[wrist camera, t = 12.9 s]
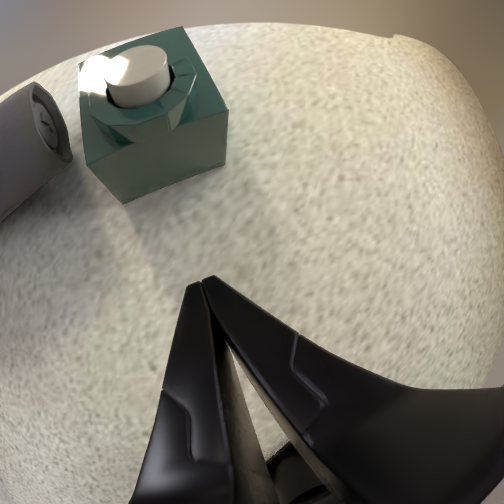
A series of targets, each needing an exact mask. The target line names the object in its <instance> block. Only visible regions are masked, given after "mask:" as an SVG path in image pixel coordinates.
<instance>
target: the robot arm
mask: <svg viewBox="0 0 504 504" xmlns="http://www.w3.org/2000/svg"><path fill="white" fill-rule="evenodd" d="M228 345H229V346H228ZM229 347H230V349H231V351H232V353H233V355H234V357H235V358H236V360H237V361H238V363H239V365H240V366H241V368H242V369H243V371H244V373H245V374H246V376H247V377H248V379H249V381H250V382H251V384H252V385H253V387H254V388H255V390H256V391H257V393H258V395H259V396H260V398H261V399H262V401H263V402H264V404H265V405H266V407H267V408H268V410H269V411H270V413H271V414H272V415H273V417H274V418H275V420H276V421H277V423H278V424H279V426H280V427H281V429H282V430H283V431H284V433H285V434H286V436H287V437H288V438H289V440H290V441H289V442H288V443H287V444H286V445H285V446H284V447H282V448H281V449H280V450H279V451H278V452H277V453H276V454H275V455H273V456H272V457H271V458H270V459H269V460H268V461H266V462H265V459H264V456H263V454H262V451H261V448H260V445H259V442H258V439H257V436H256V433H255V430H254V427H253V424H252V421H251V417H250V414H249V411H248V408H247V405H246V402H245V398H244V395H243V392H242V388H241V385H240V382H239V378H238V375H237V372H236V368H235V365H234V361H233V358H232V355H231V352H230V349H229ZM162 389H163V390H162V391H161V395H160V400H159V405H158V409H157V413H156V418H155V422H154V426H153V429H152V433H151V436H150V440H149V443H148V447H147V450H146V453H145V456H144V460H143V463H142V467H141V470H140V473H139V477H138V480H137V484H136V487H135V490H134V493H133V495H132V497H131V499H130V501H129V503H128V504H504V385H503V386H501V387H498V388H484V389H483V388H482V389H420V388H414V387H409V386H406V385H402V384H400V383H397V382H394V381H392V380H390V379H387V378H385V377H382V376H380V375H378V374H375V373H373V372H371V371H368V370H366V369H364V368H362V367H359V366H357V365H355V364H353V363H351V362H348V361H346V360H344V359H342V358H340V357H338V356H336V355H334V354H332V353H330V352H329V351H327V350H325V349H323V348H322V347H320V346H318V345H317V344H315V343H313V342H312V341H310V340H309V339H307V338H306V337H304V336H303V335H301V334H300V335H299V333H298V332H296V331H295V330H293V329H292V328H290V327H289V326H287V325H286V324H284V323H283V322H281V321H280V320H278V319H277V318H275V317H274V316H273V315H271V314H270V313H268V312H267V311H265V310H264V309H262V308H261V307H259V306H258V305H256V304H255V303H254V302H252V301H251V300H249V299H248V298H246V297H245V296H244V295H242V294H241V293H239V292H238V291H236V290H235V289H234V288H232V287H231V286H229V285H228V284H227V283H225V282H224V281H222V280H221V279H220V278H218V277H217V276H215V275H212V276H210V277H207V278H205V279H203V280H202V281H201V282H200V281H197V282H195V283H192V284H190V285H188V286H187V287H186V290H185V294H184V298H183V301H182V305H181V309H180V313H179V317H178V321H177V325H176V329H175V333H174V337H173V341H172V346H171V350H170V354H169V358H168V363H167V367H166V372H165V376H164V381H163V386H162Z"/></svg>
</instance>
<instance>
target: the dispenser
mask: <svg viewBox="0 0 504 504" xmlns="http://www.w3.org/2000/svg"><path fill="white" fill-rule="evenodd" d="M143 45H152V46H157V47H159V48H161V49H163V50H164V51H165V53H166V56H167V61H168V67H169V73H170V80H171V81H170V86H169V88H168V90H167V91H166V93H165V94H164V95H163V96H162V97H160V98H159V99H158V100H157V101H155V102H152V103H150V104H147V105H144V106H142V107H139V108H135V109H126V108H122V107H120V106H118V105H117V104H115V102H114V101H113V99H112V96H111V94H110V92H109V90H108V88H107V85H106V83H105V81H104V78H103V73H104V70H105V68H106V66H107V64H108V63H109V62H110V61H111V60H112V59H113V58H114V57H115V56H117V55H118V54H120V53H122V52H123V51H125V50H128V49H130V48H133V47H137V46H143ZM78 77H79V102H80V116H81V127H82V137H83V145H84V152H85V159H86V165H87V166H88V167H89V169H90V170H91V171H92V172H93V173H94V174H95V175H96V176H97V177H98V179H99V180H100V181H101V182H102V183H103V184H104V185H105V186H106V187H107V188H108V189H109V191H110V192H111V193H112V194H113V195H114V196H115V197H116V198H117V199H118V200H119V201H120V202H121V203H122V204H126V203H128V202H130V201H132V200H135V199H137V198H139V197H142V196H144V195H146V194H149V193H151V192H153V191H156V190H158V189H161V188H163V187H166V186H168V185H171V184H173V183H176V182H178V181H181V180H184V179H186V178H189V177H192V176H194V175H197V174H200V173H202V172H205V171H208V170H211V169H214V168H217V167H220V166H222V165H225V162H226V145H227V129H228V114H229V110H228V108H227V106H226V104H225V102H224V100H223V98H222V97H221V95H220V93H219V91H218V89H217V87H216V85H215V83H214V82H213V80H212V78H211V76H210V74H209V72H208V71H207V69H206V67H205V65H204V63H203V62H202V60H201V58H200V56H199V54H198V53H197V51H196V49H195V47H194V46H193V44H192V42H191V40H190V39H189V37H188V35H187V34H186V32H185V30H184V28H183V27H182V26H181V27H177V28H173V29H169V30H165V31H162V32H158V33H155V34H152V35H149V36H146V37H142V38H140V39H137V40H134V41H131V42H128V43H125V44H123V45H120V46H118V47H115V48H113V49H110V50H108V51H105V52H103V53H101V54H99V55H96V56H94V57H92V58H90V59H88V60H86V61H84V62H81V63H79V64H78Z"/></svg>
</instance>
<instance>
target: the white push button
mask: <svg viewBox="0 0 504 504" xmlns="http://www.w3.org/2000/svg"><path fill="white" fill-rule="evenodd" d="M103 78H104V81H105V83H106V85H107V88H108V90H109V92H110V94H111V96H112V99H113V101H114V102H115V104H117V105H118V106H120V107H122V108H126V109H135V108H139V107H142V106H144V105H147V104H150V103H152V102H155V101H157V100H158V99H159V98H160V97H162V96H163V95H164V94H165V93H166V91H167V90H168V88H169V86H170V81H171V80H170V73H169V67H168V61H167V56H166V53H165V51H164V50H163V49H161V48H159V47H157V46H152V45H143V46H137V47H133V48H130V49H128V50H125V51H123V52H122V53H120V54H118V55H117V56H115V57H114V58H113V59H112V60H111V61H110V62H109V63H108V64H107V66H106V68H105V70H104V73H103Z"/></svg>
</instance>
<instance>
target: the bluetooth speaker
mask: <svg viewBox="0 0 504 504" xmlns="http://www.w3.org/2000/svg"><path fill="white" fill-rule="evenodd" d="M72 157H73V155H72V152H71V148H70V143H69V137H68V131H67V127H66V124H65V122H64V119H63V117H62V115H61V113H60V110H59V108H58V106H57V104H56V102H55V101H54V99H53V97H52V96H51V94H50V93H49V92H48V91H46V90H45V89H44V88H43V87H42V86H41V85H40V84H38V83H36V82H32V83H30V84H28V85H27V86H25V87H23V88H21V89H20V90H18V91H17V92H15V93H13V94H12V95H10V96H9V97H8V98H6V99H5V100H4V101H2V102H1V103H0V224H1V223H2V222H3V220H4V219H5V218H6V217H7V216H8V215H9V214H10V213H12V212H13V211H14V210H15V209H16V208H17V207H18V206H19V205H21V204H22V203H23V202H24V201H25V200H26V199H27V198H28V197H29V196H31V195H32V194H33V193H34V192H35V191H37V190H38V189H39V188H40V187H42V186H43V185H44V184H45V183H47V182H48V181H49V180H50V179H52V178H53V177H54V176H55V175H56V174H57V173H59V172H60V171H61V170H62V169H63V168H64V167H66V166H67V165H68V164H69V163H70V162H71V161H72Z"/></svg>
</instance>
